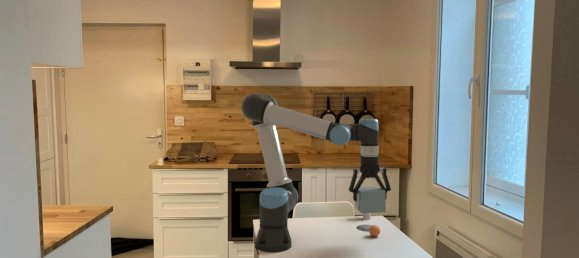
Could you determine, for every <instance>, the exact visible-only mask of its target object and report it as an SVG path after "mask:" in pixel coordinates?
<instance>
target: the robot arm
mask: <svg viewBox="0 0 579 258" xmlns="http://www.w3.org/2000/svg"><path fill="white" fill-rule="evenodd" d="M240 108H241V112H242V114H243V116H244V118H245V119H247V120H250V121H251V124H252V127H253V128H254V129H256V131H257V136H258V139H259V143H260V149H261V153H262V157H263V161H264V165H265V170H266V173H267V174H266V175H267V179H268V183H267V185H266V188H265V189H263V190H261V192H260V194H259V200H258V201H259V228H258V232H257V234H256V238H255V241H254V243H255V244H254V245H255V246H254V247H255V248H256V249H257V250H260V251H263V252H268V253H276V252H277V253H278V252H283V251H286V250H289V249H290V248H292V243H293V242H292V238H291V234H290V231H289V228H288V226H289V225H288V220H289V218H288V215H289V213H290V211H292V210H294V209H295V208H296V206H297V204H298V200H299V194H298V190H297V188H295V187H294V185H293V180H292V179H291V178H289V177H288V174H287V169H286V163H285V160H284V156H283V151H282V147H281V144H280V138H279V134H278V130H277V126H280V127H283V128H286V129H290V130H293V131H296V132H300V133H302V134H306V135H309V136H313V137H317V138H318V139H323V140H326V141H328V142H331V143H333V144H335V145H336V146H344V145H346V144H347V143H349V142H360V150H359V151H360V167H359V168H356V167H354V168H352V172H353V174H352V176H351V181H350V183H349V187H348V191H349V192H350V193H352V196H353V197H352V199H353V201H354V202H355V201H356V208H355V209H356V210H357V209H359V194H358V193H357V192H358V190H359V188H360V187H362V185H363V183H364V181H365V180H366V179H370V178H372V179H375V180H376V182H377V185H379V186H378V187H380V188H381V189H383V190H384V191H385V199H386V200H387V196H388V195H387V193H388V192H390V191H391V190H392V188H391V185H390V181H389V178H388V174H387V168H386V167H380V165H379V164H380V163H379V162H380V161H379V160H380V159H379V158H380V157H379V154H380V151H379V149H380V148H379V145H380V144H379V143H380V142H379V139H380V137H379V136H380V135H379V133H380V130H379V121H378V119H376V118H362V119H360V121H359V123H336V122H333V121H330V120H327V119H323V118H319V117H316V116H312V115H310V114H306V113H303V112H299V111H297V110H296V111H295V110H293V109H290V108H286V107H282V106H280V105H278V103H277V100H275V98H274V97H272V96H271V95H268V94H266V93H251V94H249V95H247V96H246V97H244V99H243V101H242V103H241V107H240ZM360 173H361V175H360V177H359V179H358V181H357V178H358V174H360ZM378 173H381V176H382V178H383V182H382V180H381V178H380V177H379V175H378ZM356 182H357V183H356ZM383 183H384V184H383Z"/></svg>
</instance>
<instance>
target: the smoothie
mask: <svg viewBox="0 0 579 258" xmlns="http://www.w3.org/2000/svg"><path fill="white" fill-rule="evenodd" d="M371 217H372V213H362V219H363V220H365V219H366V221H367V220H369V221H370V220H371Z"/></svg>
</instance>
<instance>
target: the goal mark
mask: <svg viewBox="0 0 579 258" xmlns="http://www.w3.org/2000/svg"><path fill="white" fill-rule="evenodd" d="M372 225H373V224H359V225H357V226H356V229H357V230H359V231H363V232H369V228H370V227H371V226H372Z"/></svg>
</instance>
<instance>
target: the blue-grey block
mask: <svg viewBox="0 0 579 258" xmlns="http://www.w3.org/2000/svg"><path fill="white" fill-rule="evenodd" d="M357 193H358V194H359V209H356V201H354V208H355V209H356V210H357V211H358V212H359V213H360V214H363V213H371V214H374V213H375V214H377V213H379V214H380V213H386V211H387V209H386V207H387V206H386V203H387V202H386V200H387V199H385V191H384V190H383V189H381V187H380V186H361V187H360V188H359V190H358V192H357Z"/></svg>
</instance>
